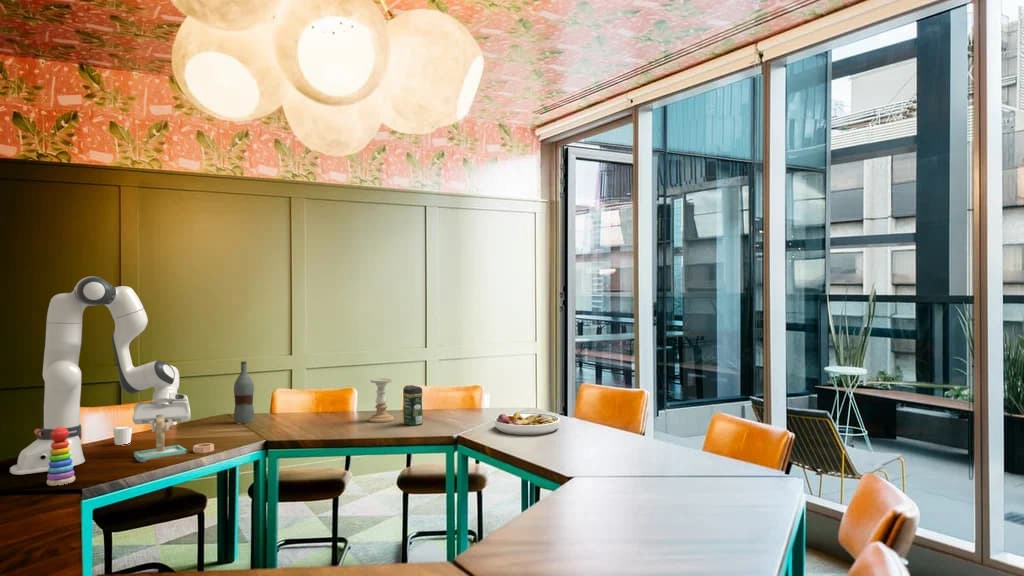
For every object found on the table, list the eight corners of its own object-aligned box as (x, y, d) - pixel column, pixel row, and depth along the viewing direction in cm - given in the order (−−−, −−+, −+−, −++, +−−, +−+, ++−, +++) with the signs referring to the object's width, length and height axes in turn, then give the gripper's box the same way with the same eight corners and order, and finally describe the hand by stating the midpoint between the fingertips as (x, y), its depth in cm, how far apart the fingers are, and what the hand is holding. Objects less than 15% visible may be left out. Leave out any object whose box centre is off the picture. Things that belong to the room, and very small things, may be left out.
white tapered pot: (123, 446, 267) (123, 429, 267) (109, 445, 269) (109, 429, 269) (136, 442, 274) (135, 426, 274) (122, 441, 275) (122, 425, 275)
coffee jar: (400, 423, 308) (400, 385, 309) (415, 421, 313) (415, 383, 313) (410, 426, 301) (410, 387, 301) (425, 424, 306) (424, 385, 306)
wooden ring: (196, 455, 249) (196, 448, 250) (191, 452, 255) (191, 445, 255) (215, 452, 254) (215, 445, 254) (210, 449, 259) (210, 442, 259)
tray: (140, 462, 240) (140, 456, 240) (133, 457, 248) (133, 451, 248) (186, 455, 251) (186, 449, 251) (178, 450, 259) (178, 444, 259)
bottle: (246, 424, 310) (246, 362, 310) (229, 424, 311) (229, 362, 312) (257, 420, 319) (257, 360, 319) (241, 420, 320) (240, 360, 321)
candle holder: (363, 422, 313) (363, 380, 313) (376, 417, 325) (376, 377, 325) (386, 423, 309) (385, 381, 309) (398, 418, 321) (398, 378, 321)
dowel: (157, 452, 247) (157, 415, 248) (155, 450, 250) (155, 415, 250) (165, 450, 249) (165, 415, 250) (163, 449, 251) (163, 414, 252)
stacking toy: (76, 478, 220) (76, 423, 220) (73, 484, 213) (73, 428, 213) (48, 481, 216) (48, 426, 217) (44, 488, 209) (44, 430, 209)
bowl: (542, 421, 313) (542, 405, 313) (571, 433, 285) (571, 415, 285) (485, 426, 301) (485, 409, 301) (509, 439, 274) (509, 421, 274)
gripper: (133, 398, 253) (128, 428, 243) (191, 395, 259) (187, 423, 250) (136, 407, 257) (130, 437, 248) (192, 404, 264) (189, 433, 254)
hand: (160, 430), depth 249 cm, fingers closed on dowel, 3 cm apart
